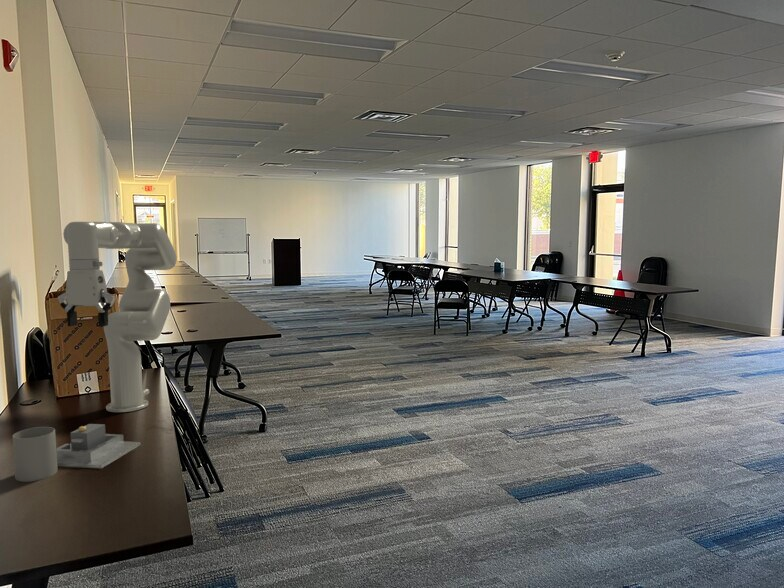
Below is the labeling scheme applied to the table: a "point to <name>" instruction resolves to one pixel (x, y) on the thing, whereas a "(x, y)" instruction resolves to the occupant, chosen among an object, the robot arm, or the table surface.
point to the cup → (34, 454)
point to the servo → (88, 437)
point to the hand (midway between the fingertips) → (87, 325)
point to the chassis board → (95, 453)
